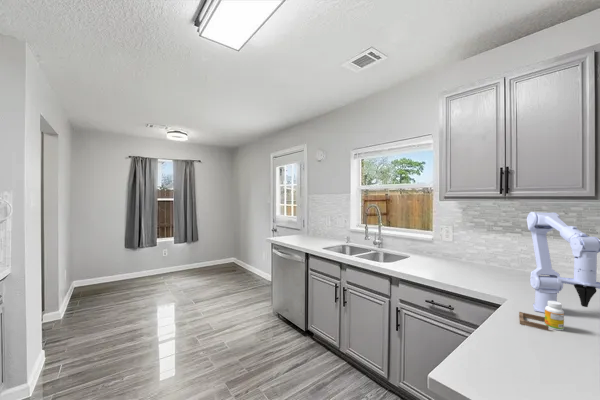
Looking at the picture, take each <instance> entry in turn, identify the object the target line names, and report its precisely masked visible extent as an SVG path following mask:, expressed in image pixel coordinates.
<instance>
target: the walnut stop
mask: <svg viewBox="0 0 600 400" xmlns="http://www.w3.org/2000/svg"><path fill="white" fill-rule="evenodd" d="M518 315H519V316H518V318H519V319H518V320H519V325H523V326H526V327H527V326H528V327H531V328H534V329H540V330H544V331H549V329H550V328H549V327H548V325H545V324H543V323H545V316H541V315H537V314H531V313H527V312H522V311H518ZM524 318H525V319H531V320H535V321H539V322H543V323H538V322H534V321H529V320H525V319H524Z"/></svg>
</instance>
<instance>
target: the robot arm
mask: <svg viewBox="0 0 600 400" xmlns="http://www.w3.org/2000/svg"><path fill="white" fill-rule="evenodd" d="M526 222H527V223H526V224H527V228H528V231H530V234H531V239H532V240H531V241H532V246H533V252H534V259H535V264H536V266H535V267H536V268H535V269H533V270H532V271H530V276H529V277H530V279H529V283H530V286H531V287H532V288H533V289H534V303H532V306H533V311H535V312H537V313H544V314H545V307H546V306H548V301H556V302H558V294H559V293H560V292H561V291H562V290H563V289H564V284H566V285H573V288H574V289H575V290H576V292H577V295H578V296H579V301H580V306H581V307H583V308H588V307H589V303H590V301H591V299H592V297H593V296H594V295H595V294H596V293H597V290H598V289H599V290H600V281H599V282H598V281H597V268H598V265H597V264H598V253H600V238H599V237H597V236H589V235H588V234H586V232H583V231H581V230H580V229H578V226H576V225H567V223H565V221H563V220H562V219H561V215H560V214H558V213H557V212H553V211H552V212H541V211H539V212H537V211H535V212H534V211H530V212H529V213H528V214H527V217H526ZM553 230H556V231H557V232H559V236H560V237H561V238H563V240H565V241H566V242H567V243H569V246H570V249H571V252H572V253H571V254H572V256H573V278H571V277H562V276H560V273H559V272H557V271H556V270H554V269H553V267H552V260H551V256H550V255H551V254H550V248H549V243H548V238H547V234H548V232H551V231H553Z"/></svg>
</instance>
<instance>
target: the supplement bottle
mask: <svg viewBox="0 0 600 400" xmlns="http://www.w3.org/2000/svg"><path fill="white" fill-rule="evenodd" d="M562 306H563V304H562V303H561V302H559V301H557V302H556V301H548V306H546V307H545V313H544V317H545V322H544V325H548V327H549V329H552V330H556V331H564V330H565V328H564V325H565V311H564V310H563V308H562Z"/></svg>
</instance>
